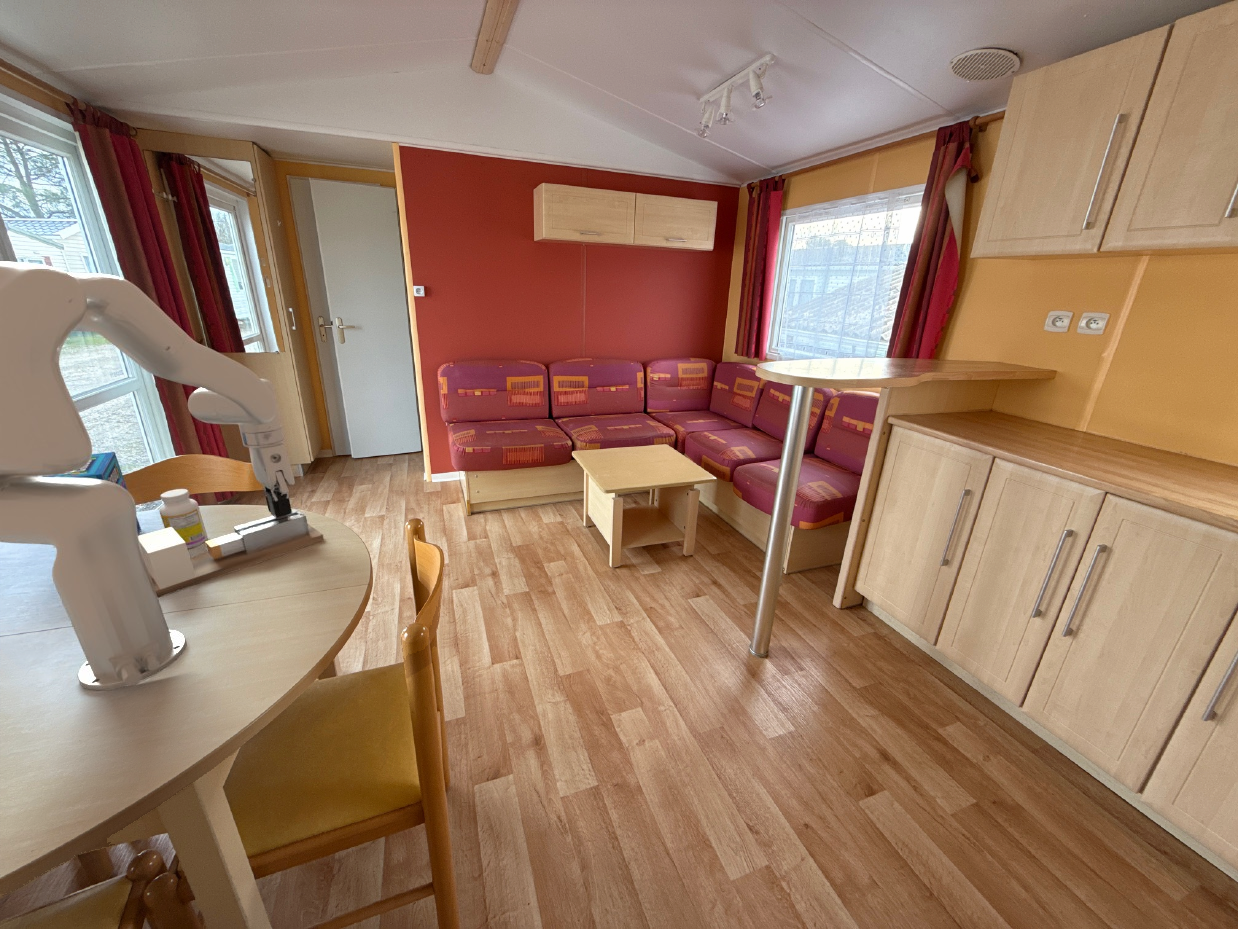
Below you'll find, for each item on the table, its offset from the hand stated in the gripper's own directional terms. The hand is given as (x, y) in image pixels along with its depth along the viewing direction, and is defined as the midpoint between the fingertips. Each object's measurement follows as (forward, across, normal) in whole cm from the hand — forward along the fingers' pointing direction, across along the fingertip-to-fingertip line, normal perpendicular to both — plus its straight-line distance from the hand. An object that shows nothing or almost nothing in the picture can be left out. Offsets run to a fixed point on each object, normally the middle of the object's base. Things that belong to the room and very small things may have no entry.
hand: (280, 511), depth 113 cm
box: (+8, +26, +26) cm, 38 cm away
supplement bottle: (+8, +16, +14) cm, 23 cm away
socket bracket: (+7, 0, +21) cm, 22 cm away
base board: (+8, 0, +9) cm, 12 cm away
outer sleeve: (+7, 0, +2) cm, 7 cm away
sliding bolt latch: (+6, 0, +5) cm, 8 cm away
